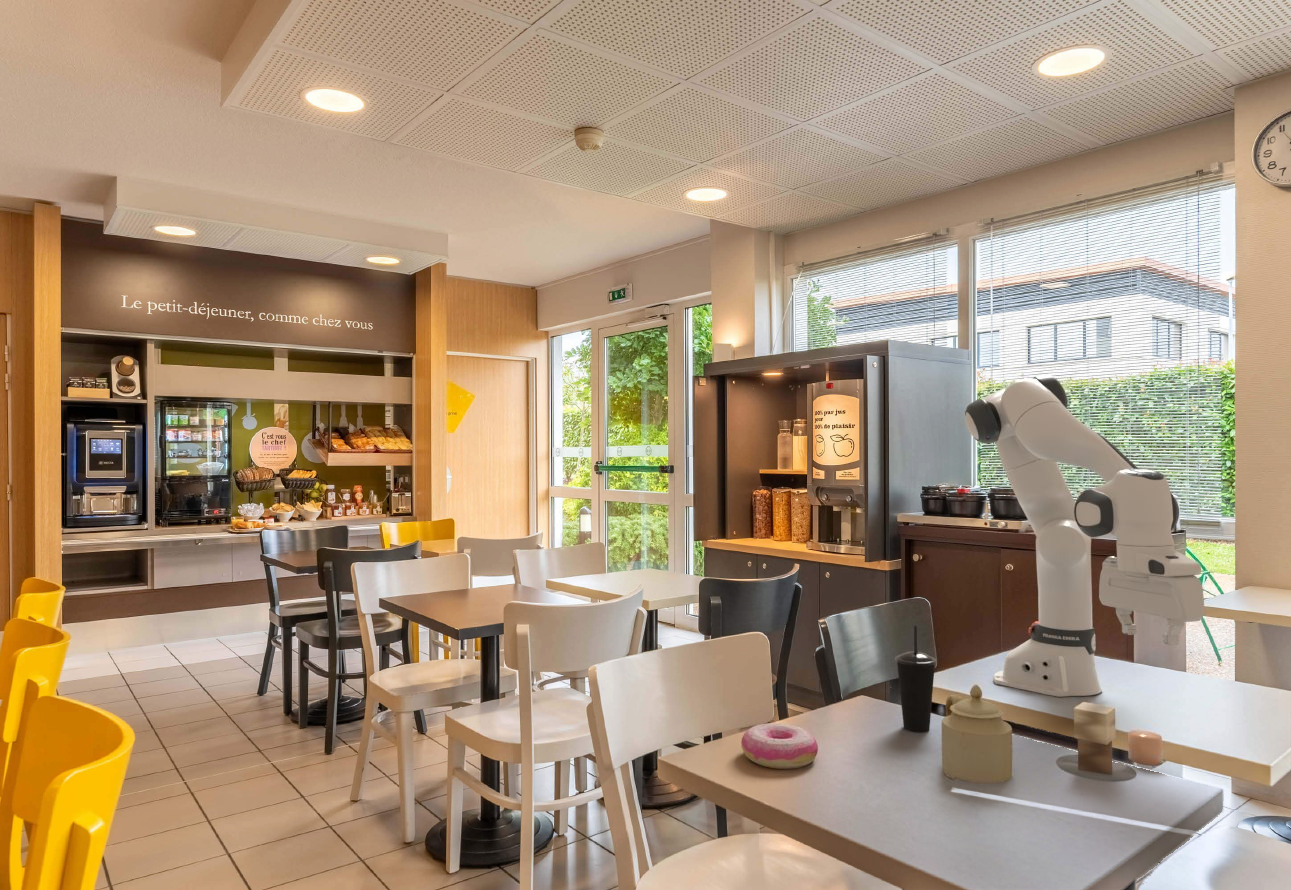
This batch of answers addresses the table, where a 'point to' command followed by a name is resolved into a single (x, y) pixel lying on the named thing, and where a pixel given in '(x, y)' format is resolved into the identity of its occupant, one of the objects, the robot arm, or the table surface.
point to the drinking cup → (916, 687)
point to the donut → (779, 746)
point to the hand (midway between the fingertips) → (1149, 639)
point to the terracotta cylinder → (1145, 747)
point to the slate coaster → (1118, 772)
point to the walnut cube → (1095, 757)
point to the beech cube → (1094, 723)
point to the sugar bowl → (976, 740)
